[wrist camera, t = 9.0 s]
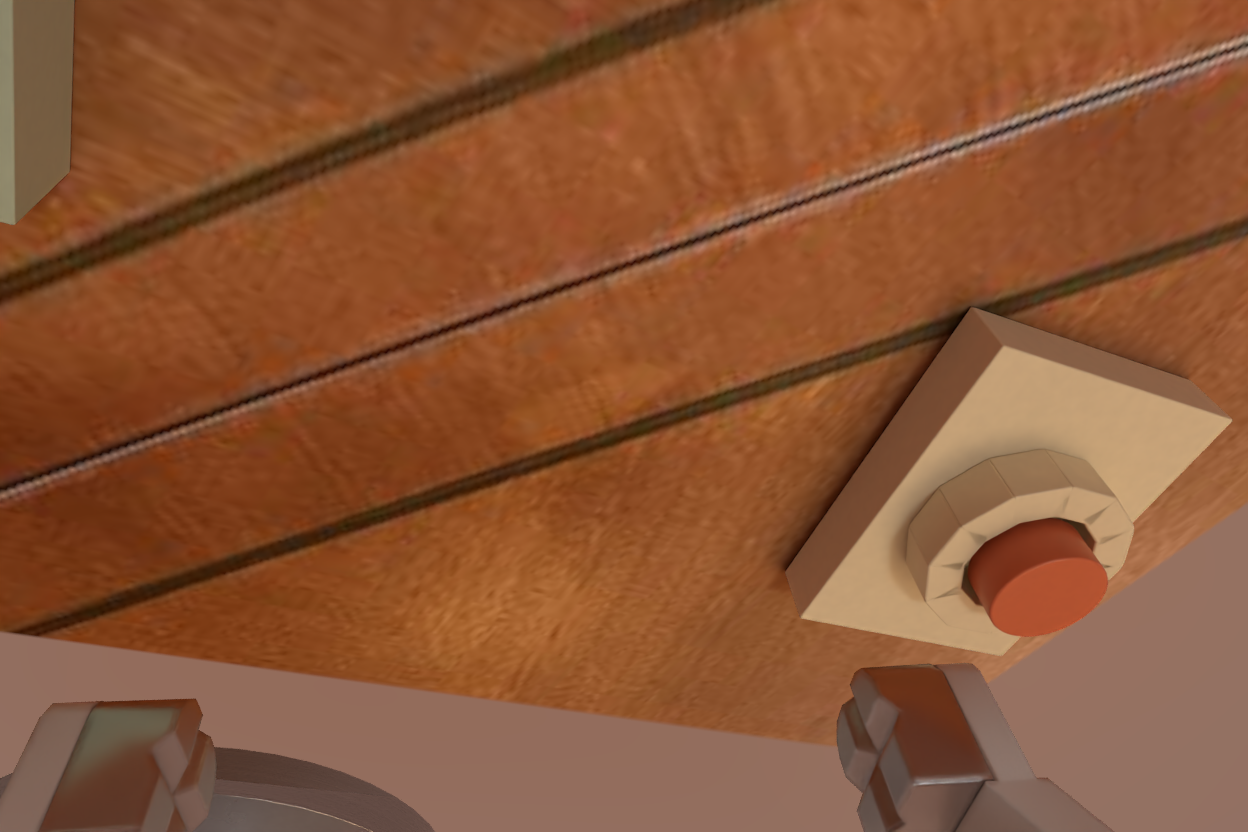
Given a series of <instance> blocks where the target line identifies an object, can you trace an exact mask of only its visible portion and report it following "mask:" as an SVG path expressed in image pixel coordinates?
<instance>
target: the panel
mask: <svg viewBox="0 0 1248 832" xmlns="http://www.w3.org/2000/svg"><path fill="white" fill-rule="evenodd" d="M73 37H74V0H0V222H3V223H7V224H11V225H15V224H16V223H17V222H18V221H19V220H20V219H21V218H22V217H24V216H25V215H26V214H27V213H28V212H29V211H30V210H31V209H32V208H33V207H34V206H35V205H36V204H37V203H38V202H39V201H40V200H41V199H42V198H43V197H44V196H45V195H46V194H47V193H48V192H49V191H50V190H51V189H52V188H53V187H55V186H56V185H57V184H58V183H59V182H60V181H61V180H62V179H63V178H64V177H65V176H66V175H67V174H68V173H69V172H70V149H71V112H72V75H73Z"/></svg>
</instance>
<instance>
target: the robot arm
mask: <svg viewBox="0 0 1248 832" xmlns="http://www.w3.org/2000/svg"><path fill="white" fill-rule="evenodd" d="M850 686H851V689H852V692H853V695H854V697H853V698H852V699H850V700H849V701H848V702H846V703H845V704H843V705H842V707H841V710H840V713H839V717H838V720H837V746H838V751H839V756H840V760H841V764H842V767H843V770H844V773H845V776H846V778H847V779H848V780H849V781H850V782H851V783H852V784H854V785H855V786H856V787H857V788H858V789H859V790H860V791H861V792H862V793H863V794H862V797H861V800H860V803H859V806H858V809H857V812H858V815H859V818H860V821H861V824H862V827H863V830H864V832H1114V831H1113V830H1112V829H1110V828H1109V827H1108V826H1107V825H1106V824H1104V823H1103V822H1102V821H1101V820H1099V819H1098V818H1097V817H1096V816H1094V815H1093V814H1092V813H1090V812H1089V811H1088V810H1087V809H1086V808H1084V807H1083V806H1082V805H1080V804H1079V803H1078V802H1077V801H1076V800H1074V799H1073V798H1072V797H1071V796H1069V795H1068V794H1067V793H1065V792H1064V791H1063V790H1062V789H1061V788H1059V787H1058V786H1057V785H1056V784H1054V783H1053V782H1052V781H1051V780H1049V779H1048V778H1036V776H1035V775H1034V773H1033V771H1032V769H1031V767H1030V765H1029V763H1028V761H1027V759H1026V757H1025V756H1024V754H1023V752H1022V750H1021V748H1020V746H1019V744H1018V742H1017V740H1016V738H1015V736H1014V735H1013V733H1012V731H1011V729H1010V727H1009V725H1008V723H1007V721H1006V719H1005V718H1004V716H1003V714H1002V712H1001V710H1000V708H999V707H998V704H997V702H996V701H995V699H994V697H993V695H992V693H991V691H990V689H989V687H988V685H987V683H986V681H985V680H984V678H983V676H982V674H981V672H980V670H978V669H977V668H976V667H975V666H974V665H973V664H970V663H955V664H939V665H931V664H918V665H902V666H886V667H870V668H861V669H859V670H858V671H856V672H855V673H854V676H853V678H852V681H851V683H850ZM202 716H203V714H202V712H201V710H200V707H199V705H198V702H197V700H196V699H172V700H139V701H111V702H104V701H96V702H73V703H53V704H52V705H51V706H50V707H49V708H48V709H47V710H46V712H45V713H44V714H43V715H42V716H41V717H40V718H39V720H38V722H37V724H36V726H35V728H34V730H33V732H32V734H31V737H30V739H29V741H28V743H27V745H26V747H25V749H24V751H23V753H22V755H21V757H20V759H19V762H18V764H17V765H16V767H15V769H14V772H13V774H12V776H11V778H10V780H9V782H8V784H7V786H6V788H5V790H4V792H3V794H2V796H1V798H0V832H193V831H194V830H195V829H196V828H197V827H198V826H199V825H200V824H201V823H202V822H203V821H204V820H205V819H206V818H207V817H208V813H209V810H210V806H211V802H212V798H213V794H214V787H215V778H216V768H217V765H216V755H215V748H214V745H213V742H212V739H211V737H210V736H208V735H206V734H205V733H203V732H201V731H200V730H198V729H199V726H200V723H201V720H202Z"/></svg>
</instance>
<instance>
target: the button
mask: <svg viewBox="0 0 1248 832" xmlns="http://www.w3.org/2000/svg"><path fill="white" fill-rule="evenodd" d="M968 579H969V581H970V584H971V585H972V587H973V589H974V591H975V593H976V595H977V596H978V598H979V600H980V602H981V604H982V605H983V607H984V609H985V611H986V613H987V615H988V616H989V618H990V620H991V622H992V623H993V625H994V626H995V627H996V628H998V629H999V630H1001V631H1002V632H1004V633H1006V634H1009V635H1013V636H1021V637H1029V636H1039V635H1044V634H1048V633H1052V632H1055V631H1058V630H1060V629H1063V628H1065V627H1067V626H1070V625H1071V624H1073V623H1075V622H1077V621H1078V620H1080V619H1082V618H1083V617H1084V616H1086V615H1087V614H1088V613H1089V612H1091V611H1092V610H1093V609H1094V608H1095V607H1096V606H1097V605H1098V603H1099V602H1100V601H1101V599H1102V598H1103V596H1104V594H1105V592H1106V590H1107V585H1108V577H1107V573H1106V571H1105V569H1104V567H1103V566H1102V564H1101V563H1100V562H1099V560H1098V559H1097V558H1096V556H1095V555H1094V553H1093V552H1092V551H1091V549H1090V548H1089V546H1088V545H1087V544H1086V542H1085V541H1084V540H1083V538H1082V537H1081V535H1080V534H1079V533H1078V531H1077V530H1076V529H1075V528H1074V527H1073V526H1072V525H1071V524H1069V523H1067V522H1065V521H1063V520H1060V519H1055V518H1045V519H1040V520H1034V521H1029V522H1023V523H1019V524H1017V525H1015V526H1014V527H1012V528H1010V529H1008V530H1006V531H1004V532H1003V533H1001V534H999V535H997V536H995V537H993V538H991V539H990V540H988V541H986V542H984V544H983V545H982V546H981V547H980V548H979V549H978V551H977V552H976V553H975V554H974V555H973V556H972V557H971V560H970V562H969V565H968Z"/></svg>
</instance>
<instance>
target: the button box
mask: <svg viewBox="0 0 1248 832" xmlns="http://www.w3.org/2000/svg"><path fill="white" fill-rule="evenodd" d="M1231 422H1232V419H1231V418H1230V417H1229V416H1228V415H1227V414H1226V413H1225V412H1224V411H1223V410H1222V409H1221V408H1220V407H1218V406H1217V405H1216V404H1215V403H1214V402H1213V401H1212V400H1211V399H1210V398H1209V397H1208V396H1207V395H1206V394H1205V393H1203V392H1202V391H1201V390H1200V389H1199V388H1198V387H1197V386H1196V385H1195V384H1194V383H1193V382H1192V381H1191V380H1188V379H1185V378H1182V377H1179V376H1176V375H1173V374H1170V373H1167V372H1164V371H1161V370H1158V369H1155V368H1152V367H1149V366H1146V365H1143V364H1141V363H1138V362H1135V361H1132V360H1129V359H1126V358H1123V357H1120V356H1117V355H1114V354H1111V353H1108V352H1105V351H1102V350H1099V349H1096V348H1093V347H1090V346H1087V345H1084V344H1081V343H1078V342H1075V341H1072V340H1069V339H1066V338H1063V337H1060V336H1057V335H1054V334H1051V333H1049V332H1046V331H1043V330H1040V329H1037V328H1034V327H1031V326H1028V325H1025V324H1022V323H1019V322H1016V321H1013V320H1010V319H1007V318H1004V317H1001V316H998V315H995V314H992V313H989V312H986V311H983V310H980V309H977V308H974V307H971V308H970V309H969V311H968V312H967V314H966V315H965V316H964V318H963V319H962V321H961V322H960V323H959V325H958V326H957V328H956V329H955V331H954V332H953V333H952V335H951V336H950V338H949V339H948V341H947V342H946V343H945V345H944V346H943V348H942V349H941V351H940V352H939V353H938V355H937V356H936V358H935V359H934V361H933V362H932V363H931V365H930V366H929V368H928V369H927V371H926V372H925V373H924V375H923V376H922V378H921V379H920V380H919V382H918V383H917V385H916V386H915V388H914V389H913V390H912V392H911V393H910V395H909V396H908V398H907V399H906V400H905V402H904V403H903V405H902V406H901V408H900V409H899V410H898V412H897V413H896V415H895V416H894V418H893V419H892V420H891V422H890V423H889V425H888V426H887V427H886V429H885V430H884V432H883V433H882V435H881V436H880V437H879V439H878V440H877V442H876V443H875V445H874V446H873V447H872V449H871V450H870V452H869V453H868V455H867V456H866V457H865V459H864V460H863V462H862V463H861V465H860V466H859V467H858V469H857V470H856V472H855V473H854V475H853V476H852V477H851V479H850V480H849V482H848V483H847V484H846V486H845V487H844V489H843V490H842V492H841V493H840V494H839V496H838V497H837V499H836V500H835V502H834V503H833V504H832V506H831V507H830V509H829V510H828V512H827V513H826V514H825V516H824V517H823V519H822V520H821V522H820V523H819V524H818V526H817V527H816V529H815V530H814V532H813V533H812V534H811V536H810V537H809V539H808V540H807V541H806V543H805V544H804V546H803V547H802V549H801V550H800V551H799V553H798V554H797V556H796V557H795V559H794V560H793V561H792V563H791V564H790V566H789V567H788V569H787V570H786V571H785V574H786V577H787V580H788V583H789V586H790V589H791V592H792V595H793V598H794V601H795V604H796V607H797V610H798V613H799V616H800V618H802V619H807V620H813V621H818V622H823V623H829V624H834V625H839V626H844V627H850V628H855V629H860V630H866V631H871V632H876V633H881V634H887V635H892V636H897V637H903V638H908V639H913V640H918V641H924V642H929V643H934V644H940V645H945V646H950V647H955V648H961V649H966V650H971V651H977V652H982V653H987V654H992V655H998V656H1003V655H1004V653H1005V652H1006V651H1007V650H1008V649H1009V648H1010V647H1011V646H1012V645H1013V644H1014V643H1015V642H1016V641H1017V640H1018V639H1019V638H1020V637H1021V636H1013V635H1009V634H1006V633H1004V632H1002V631H1001V630H999V629H998V628H996V627H995V626H994V625H993V623H992V622H991V620H990V618H989V616H988V615H987V613H986V611H985V609H984V607H983V605H982V604H981V602H980V600H979V598H978V596H977V595H976V593H975V591H974V589H973V587H972V585H971V584H970V581H969V579H968V565H969V562H970V560H971V557H972V556H973V555H974V554H975V553H976V552H977V551H978V549H979V548H980V547H981V546H982V545H983V544H984V542H986V541H988V540H990V539H991V538H993V537H995V536H997V535H999V534H1001V533H1003V532H1004V531H1006V530H1008V529H1010V528H1012V527H1014V526H1015V525H1017V524H1019V523H1023V522H1029V521H1034V520H1040V519H1045V518H1055V519H1060V520H1063V521H1065V522H1067V523H1069V524H1071V525H1072V526H1073V527H1074V528H1075V529H1076V530H1077V531H1078V533H1079V534H1080V535H1081V537H1082V538H1083V540H1084V541H1085V542H1086V544H1087V545H1088V546H1089V548H1090V549H1091V551H1092V552H1093V553H1094V555H1095V556H1096V558H1097V559H1098V560H1099V562H1100V563H1101V564H1102V566H1103V567H1104V569H1105V571H1106V573H1107V577H1108V581H1109V580H1110V579H1111V578H1112V577H1113V576H1114V575H1115V574H1116V573H1117V572H1118V571H1119V570H1120V569H1121V568H1122V565H1123V564H1124V562H1125V559H1126V556H1127V552H1128V549H1129V546H1130V543H1131V539H1132V536H1133V533H1134V525H1133V522H1134V521H1135V520H1136V519H1137V518H1138V517H1139V516H1140V515H1141V514H1142V513H1143V512H1144V511H1145V510H1146V509H1147V508H1148V507H1149V506H1150V505H1151V504H1152V503H1153V502H1154V500H1155V499H1156V498H1157V497H1158V496H1159V495H1160V494H1161V493H1162V492H1163V491H1164V490H1165V489H1166V488H1167V487H1168V486H1169V485H1170V484H1171V483H1172V482H1173V481H1174V480H1175V479H1176V478H1177V477H1178V476H1179V475H1180V474H1181V473H1182V472H1183V471H1184V470H1185V469H1186V468H1187V467H1188V466H1189V465H1190V464H1191V463H1192V462H1193V461H1194V460H1195V459H1196V458H1197V457H1198V456H1199V455H1200V454H1201V453H1202V452H1203V450H1204V449H1205V448H1206V447H1207V446H1208V445H1209V444H1210V443H1211V442H1212V441H1213V440H1214V439H1215V438H1216V437H1217V436H1218V435H1219V434H1220V433H1221V432H1222V431H1223V430H1224V429H1225V428H1226V427H1227V426H1228V425H1229V424H1230V423H1231Z"/></svg>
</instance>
